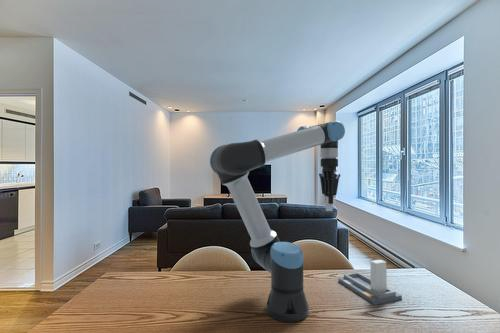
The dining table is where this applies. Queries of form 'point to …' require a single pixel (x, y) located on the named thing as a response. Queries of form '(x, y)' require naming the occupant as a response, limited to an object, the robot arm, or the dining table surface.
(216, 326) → the dining table surface
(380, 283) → the switch tab
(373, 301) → the switch board
